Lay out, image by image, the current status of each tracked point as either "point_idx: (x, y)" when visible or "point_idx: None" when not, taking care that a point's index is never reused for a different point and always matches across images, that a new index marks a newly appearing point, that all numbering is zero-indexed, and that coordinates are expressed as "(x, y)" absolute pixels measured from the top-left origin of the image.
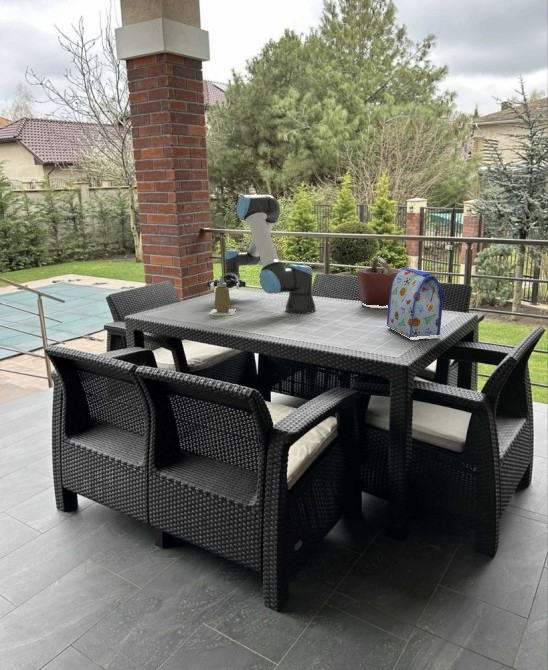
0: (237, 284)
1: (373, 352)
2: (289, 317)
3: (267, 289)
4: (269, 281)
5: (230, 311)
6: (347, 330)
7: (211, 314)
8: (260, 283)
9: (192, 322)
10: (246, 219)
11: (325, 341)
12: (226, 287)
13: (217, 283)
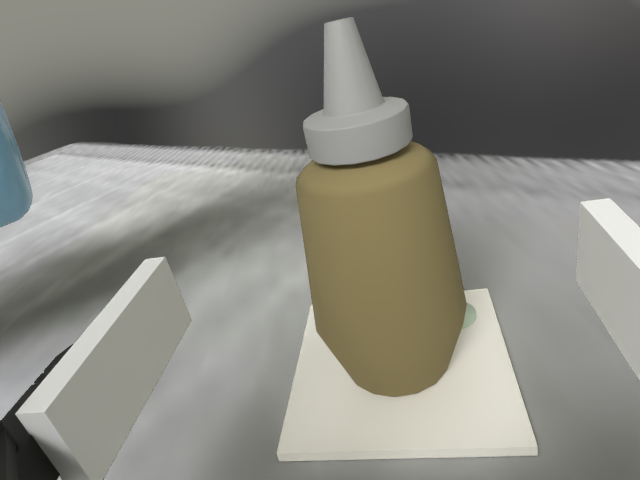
0: (153, 260)
1: (70, 158)
2: (22, 311)
3: (26, 175)
4: (2, 108)
5: (331, 364)
6: None
7: (466, 292)
8: (13, 156)
9: (512, 194)
10: None
11: (106, 170)
12: (312, 162)
13: (400, 98)
